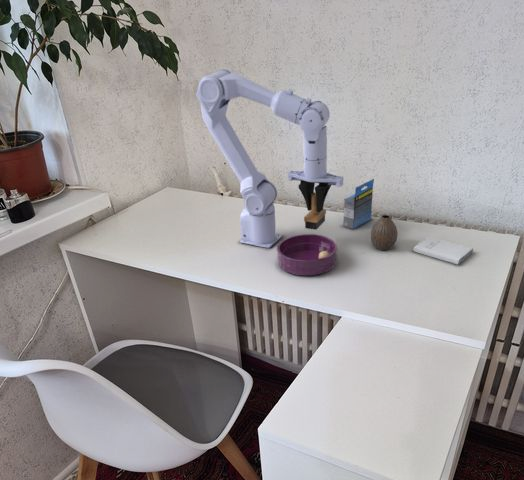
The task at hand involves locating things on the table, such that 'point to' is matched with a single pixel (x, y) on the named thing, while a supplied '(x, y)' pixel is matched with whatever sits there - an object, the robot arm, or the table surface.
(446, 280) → the table surface
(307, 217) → the brush
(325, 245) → the bowl
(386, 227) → the vase
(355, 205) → the tape cartridge
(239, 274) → the table surface
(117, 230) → the table surface
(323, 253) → the dough ball
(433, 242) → the hard drive
